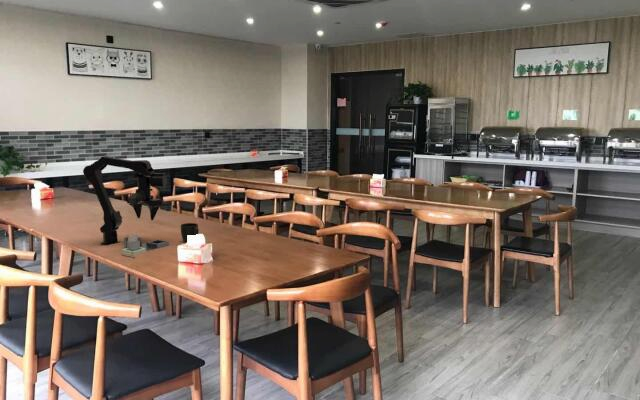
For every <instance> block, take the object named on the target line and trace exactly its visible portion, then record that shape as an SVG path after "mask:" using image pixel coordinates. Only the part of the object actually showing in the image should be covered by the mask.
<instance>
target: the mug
mask: <svg viewBox="0 0 640 400" xmlns="http://www.w3.org/2000/svg"><path fill="white" fill-rule="evenodd" d="M199 231H200V230H199V224H198V223H195V222H189V223H188V222H186V223H182V224H180V235H181V239H182V241H183V243H186V242H187V235H196V234H198V235H199ZM186 244H187V243H186Z"/></svg>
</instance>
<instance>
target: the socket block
mask: <svg viewBox="0 0 640 400" xmlns="http://www.w3.org/2000/svg"><path fill="white" fill-rule="evenodd" d="M137 240H138V241H140V247H142V248H145V249H146V252H150V251H155V250H156V249H160V248H165V247H169V246H170V241H169V240H164V239H154V240H151V241H150V240H149V241H146V242H145V243H142V237H140V236H137ZM127 241H128V240H127V238H126V236H125V237H123V249H126V248H127Z"/></svg>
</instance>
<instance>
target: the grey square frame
mask: <svg viewBox="0 0 640 400" xmlns="http://www.w3.org/2000/svg"><path fill="white" fill-rule="evenodd" d="M146 252H147V251H146V249H145V248H142V247H140V250H136V251H130V250H127V248H122V249H121V253H122V254H120V256H121V257H125V258H131V259H135V258H136V257H135V256H137V255H141V254H144V253H146Z"/></svg>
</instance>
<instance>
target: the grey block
mask: <svg viewBox="0 0 640 400" xmlns="http://www.w3.org/2000/svg"><path fill="white" fill-rule="evenodd" d="M129 235H130V236H129V240H130V241H127V250H130V251H136V250H140V241H138V240H137V237H138V235H137V234H129Z"/></svg>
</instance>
